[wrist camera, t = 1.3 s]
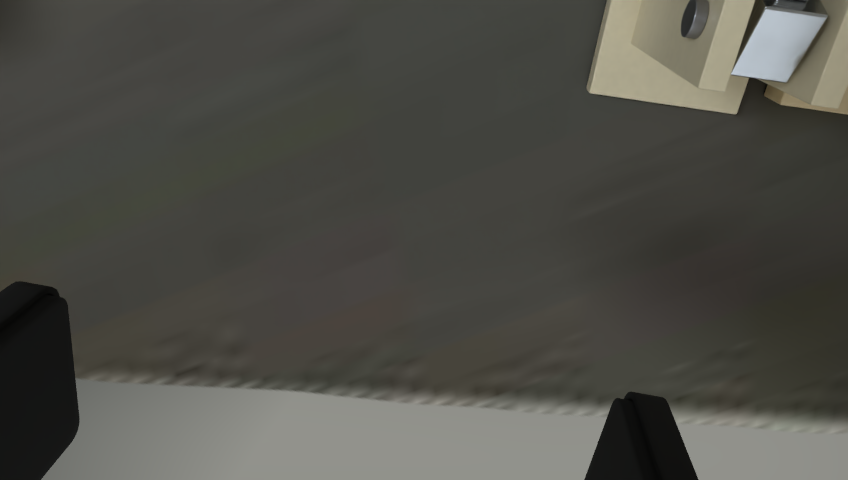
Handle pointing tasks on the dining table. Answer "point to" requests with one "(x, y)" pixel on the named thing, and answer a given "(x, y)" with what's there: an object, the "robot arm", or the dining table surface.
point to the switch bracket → (705, 54)
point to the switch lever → (778, 38)
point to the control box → (785, 99)
